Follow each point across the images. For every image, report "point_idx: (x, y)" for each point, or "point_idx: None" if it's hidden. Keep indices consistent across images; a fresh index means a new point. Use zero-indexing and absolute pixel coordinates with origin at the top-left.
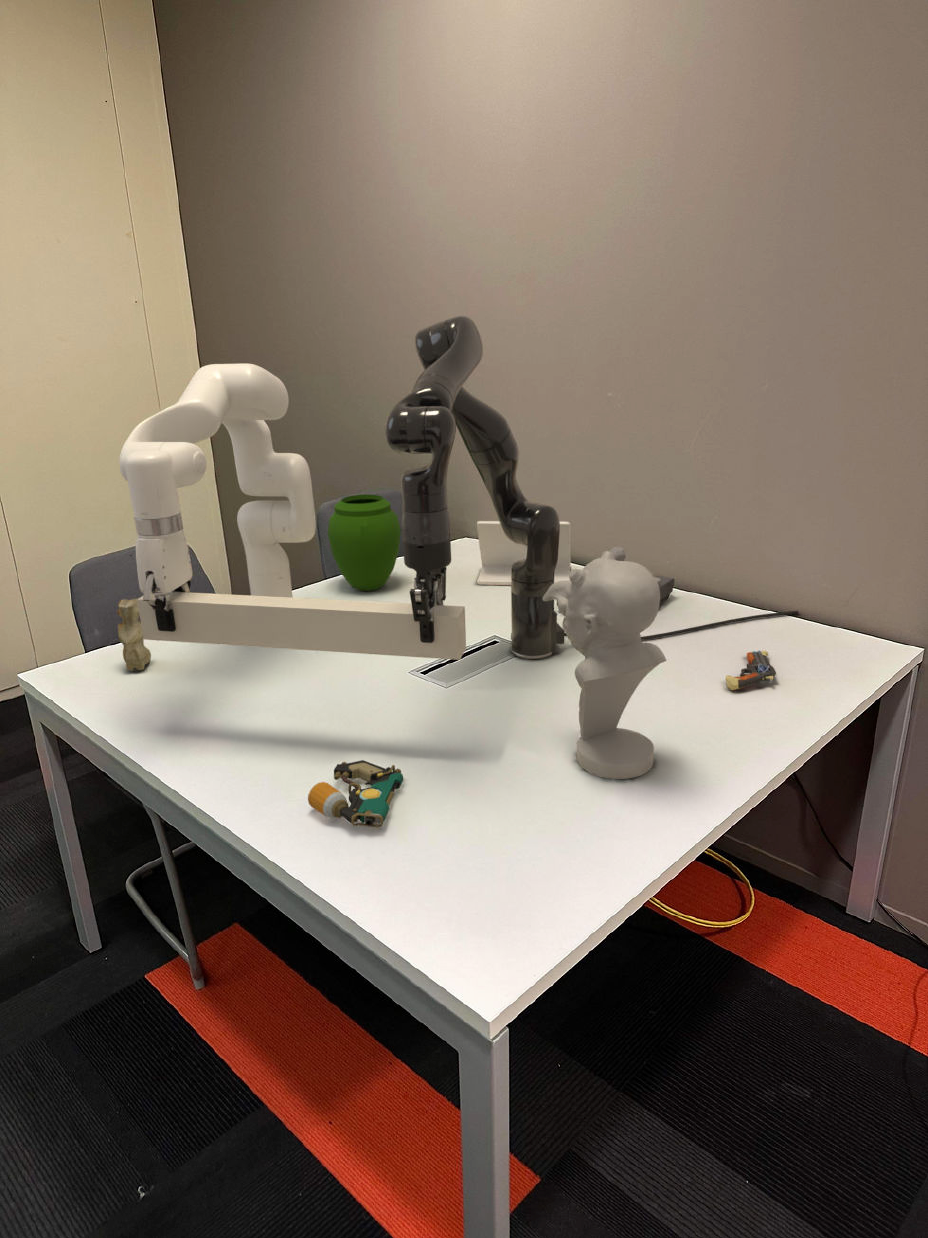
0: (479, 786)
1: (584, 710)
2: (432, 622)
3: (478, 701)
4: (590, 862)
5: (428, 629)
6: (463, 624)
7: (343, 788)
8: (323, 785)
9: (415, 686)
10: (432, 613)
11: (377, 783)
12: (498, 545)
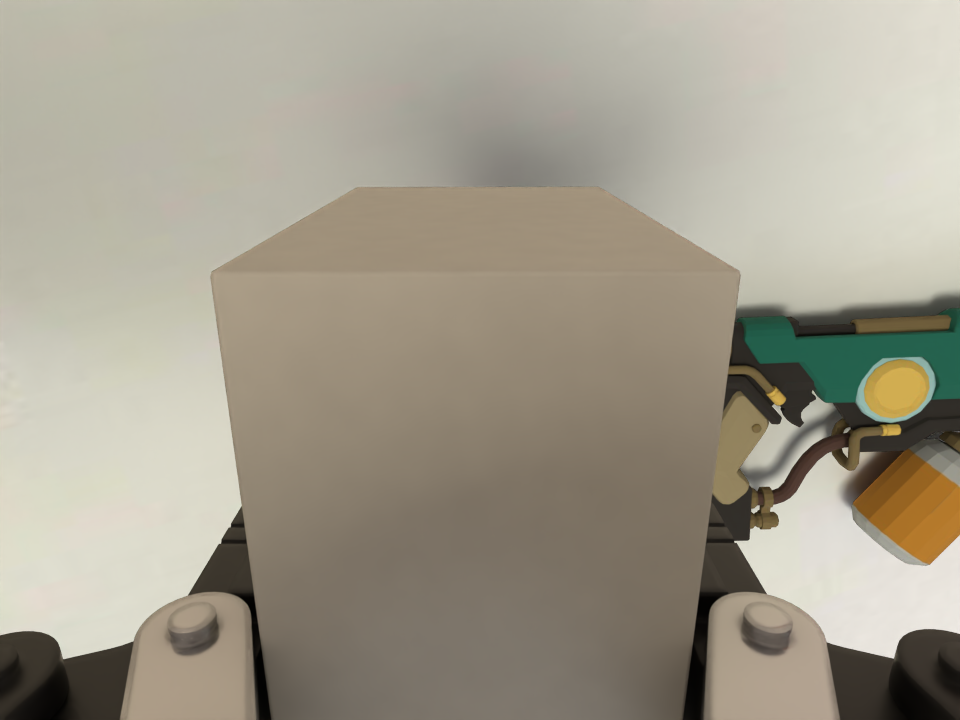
0: (720, 36)
1: None
2: (724, 586)
3: (50, 191)
4: None
5: (748, 572)
6: (401, 225)
7: (756, 482)
8: (930, 539)
9: (20, 461)
10: (790, 682)
11: (832, 387)
12: None
